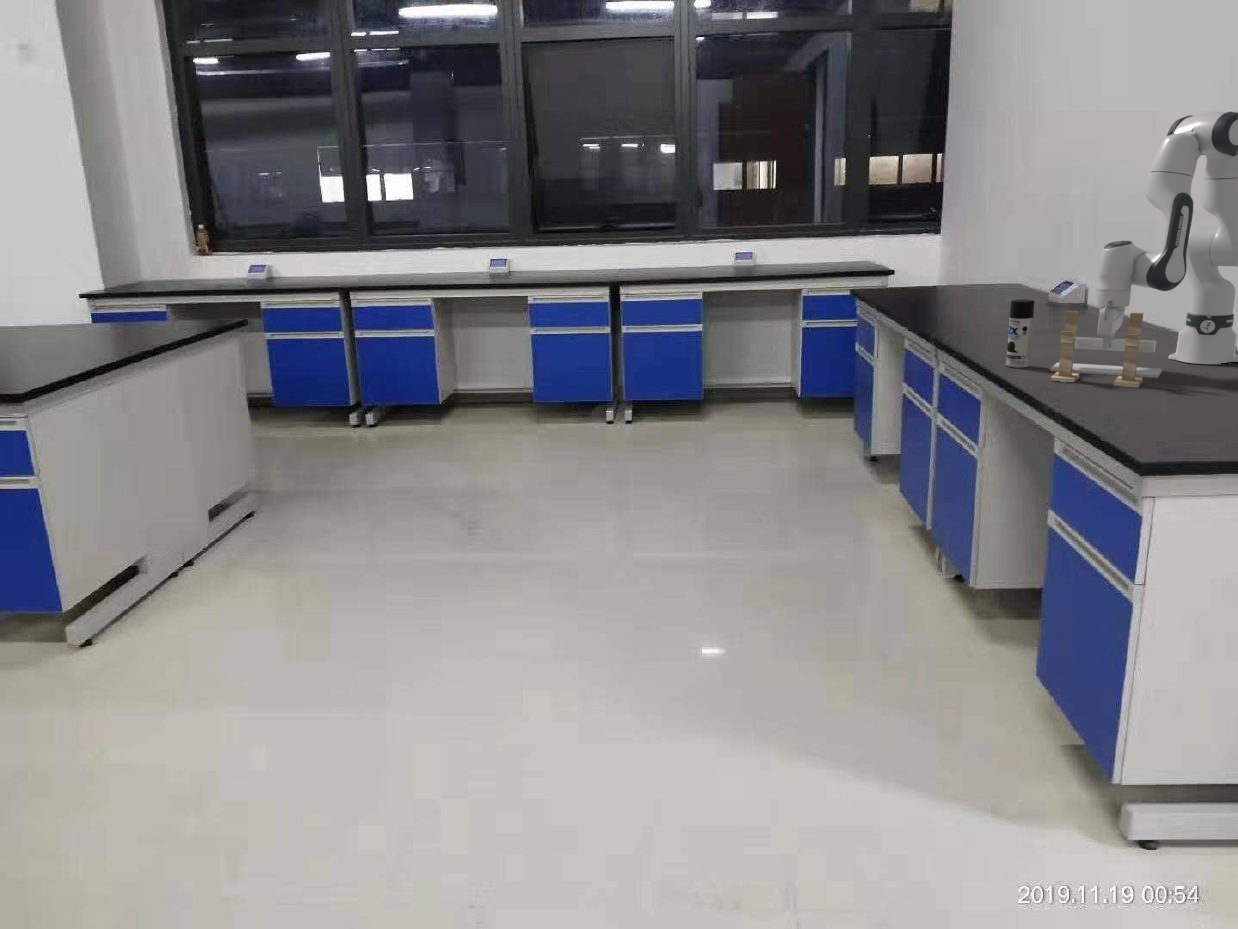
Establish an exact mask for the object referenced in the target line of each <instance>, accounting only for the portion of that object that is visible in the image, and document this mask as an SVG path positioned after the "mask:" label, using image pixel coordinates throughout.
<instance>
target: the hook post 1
mask: <svg viewBox="0 0 1238 929" xmlns="http://www.w3.org/2000/svg"><path fill="white" fill-rule="evenodd" d="M1079 312H1080V311H1079V310H1066V312H1065V322H1064V330H1061V332H1060V340H1059V342H1060V354H1059V372H1058V371H1055V373H1054V374H1053V375H1052V376H1050V382H1052V381H1060V382H1059V383H1066V382H1074V381H1075V380H1076V381H1077V380H1078V379H1079V378H1080V373H1074V372H1072V369H1073V363H1074V359H1075V358H1074V356H1075V349H1074V347H1075V340H1076V337H1077V334H1078V324H1079ZM1076 381H1075V382H1076ZM1075 382H1074V383H1075Z"/></svg>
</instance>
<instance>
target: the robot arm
mask: <svg viewBox="0 0 1238 929" xmlns="http://www.w3.org/2000/svg"><path fill="white" fill-rule="evenodd" d="M1201 156H1205V158H1206V165H1205V171H1204V176H1203V187H1202V196H1201V197H1202V198H1201V205H1202V208H1203V209H1204V210H1205V211H1206V212H1207V213H1209V214H1211V215H1213V216H1214V217H1215V218H1216V219H1217V220H1218V223H1219V226H1217V227H1216V226H1197V227H1192V221H1193V217H1194V216H1193V214H1194V200H1193V198H1192V195H1191V194H1192V193H1191V192H1192V185H1193V184H1192V183H1193V180H1194V179H1193V178H1194V176H1195V171H1196V168H1197V164H1198V160H1199V158H1200V157H1201ZM1144 188H1145V189H1144V192H1145V193H1144V194H1145V197H1146V199H1147V201H1148V202H1149V203H1150V204H1151V205H1152V206H1154V207H1155V208H1157V209H1158V210H1159V211H1161V213H1163V215H1164V217H1165V221H1166V222H1165V230H1164V236H1163V241H1162V247H1161V250H1160V251H1159V252H1154V251H1153V252H1151V251H1147V250H1144V249H1142V248H1139V247H1138V246H1136V245H1135V244H1134V242H1133V241H1130V240H1120V241H1119V240H1117V241H1113V242H1109V243H1107V244H1106V245H1104V246H1103V248H1102V250H1101V253H1100V256H1099V261H1098V270H1097V276H1098V282H1097V286H1096V292H1095V300H1094V305H1095V307H1099V309H1098V311H1099V316H1098V322H1097V331H1096V332H1097V333H1096V334H1097V336H1098V337H1102V338H1103V349H1109V348H1110V345H1111V339H1115V335H1116V332H1117V331H1118V329H1120V328H1121V327H1122V324H1123V321H1124V317H1125V311H1126V307H1127V308H1128V307H1129V306H1130V302H1131V295H1132V293H1131V292H1132V286H1137V287H1144V288H1148V289H1149V288H1150V289H1154V290H1158V291H1161V292H1169V291H1171V290H1174V289H1176V288H1177V287H1178V286H1179V285H1180V284H1182V282H1183V280H1184V279H1185V276H1186V275H1187V277H1188V282H1189V285H1190V296H1189V297H1190V298H1189V310H1188V312H1187V313H1186V317H1185V325H1186V326H1185V327H1184V328H1183V329H1181V331H1178V336H1177V344H1176V350H1175V352H1174V353H1171V354H1169V355H1168V360H1174V361H1180V362H1183V363H1188V364H1189V363H1190V364H1198V365H1222V364H1221V363H1227V362H1238V354H1237V353H1236V350H1237V348H1238V347H1237V338H1238V334H1237V333H1236V331H1234V329H1233V326H1234V320H1235V314H1234V306H1235V298H1236V288H1235V285H1234V284H1233V282H1231V281H1229V280H1228V279H1226V278H1224V277H1223V276H1222V275H1221V273H1220V271H1219V267H1237V268H1238V112H1237V111H1227V112H1222V111H1221V112H1219V111H1214V112H1207V113H1202V114H1201V113H1200V114H1195V115H1193V114H1192V115H1186V116H1183V117H1181V118H1180V117H1179V119H1177V120H1175V121H1174V123H1172V124H1171V126H1170V128H1169V129H1168V132H1167V134H1166V136H1165V137H1164V138H1163V139H1162V141H1161V143H1160V145H1159V146H1158V148H1157V150H1156V153H1155V155H1154V158H1153V160H1152V163H1151V166H1150V169H1149V171H1148V175H1147V179H1146V181H1145V186H1144Z"/></svg>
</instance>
